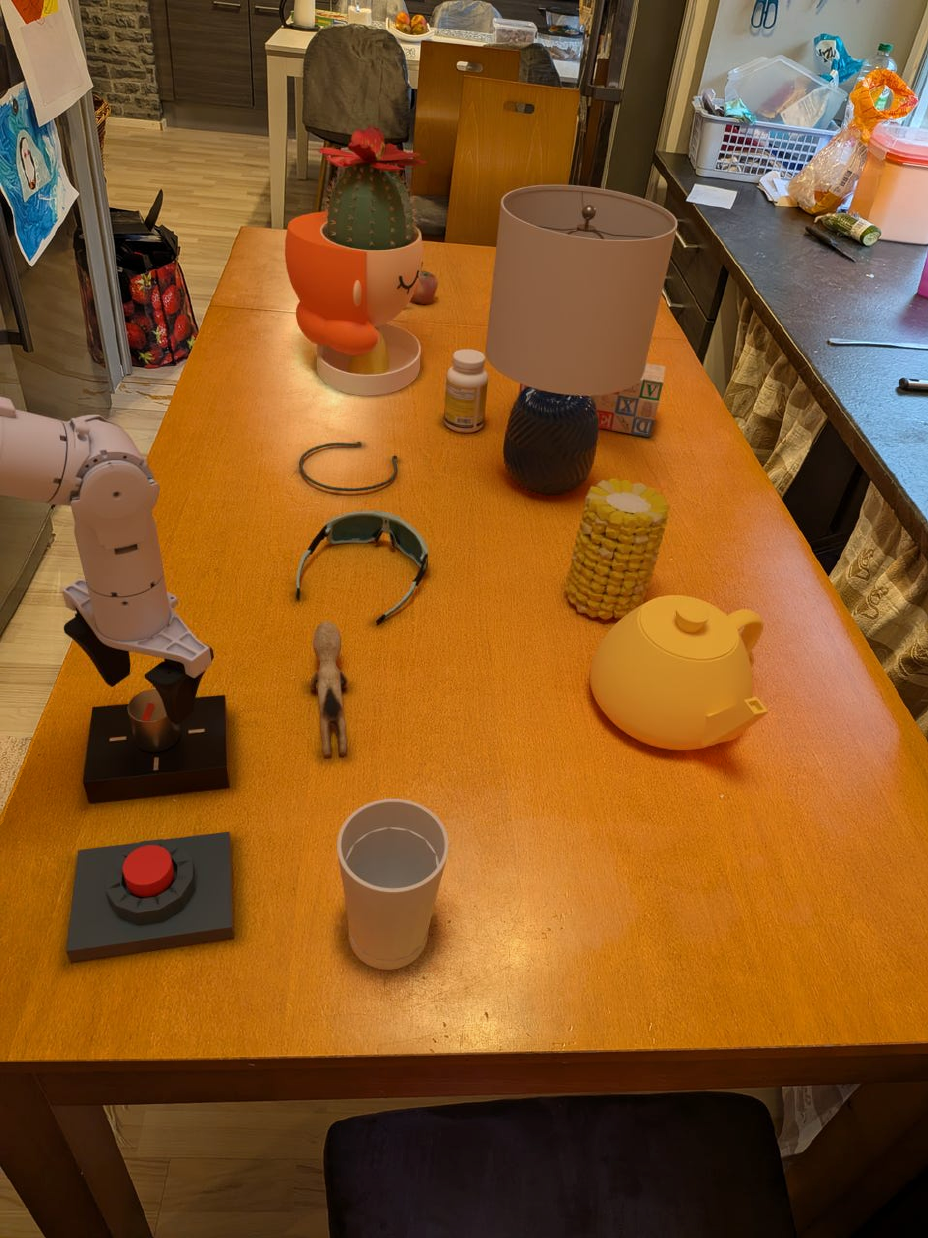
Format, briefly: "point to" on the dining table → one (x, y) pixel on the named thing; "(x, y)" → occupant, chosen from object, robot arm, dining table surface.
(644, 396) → the stack of blocks
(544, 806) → the dining table surface
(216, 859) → the switch block
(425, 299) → the apple
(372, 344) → the potted cactus
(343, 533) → the sunglasses
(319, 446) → the black headband
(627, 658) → the teapot
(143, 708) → the dimmer knob
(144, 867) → the switch button
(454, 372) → the pill bottle
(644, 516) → the food
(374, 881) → the cup
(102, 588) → the robot arm
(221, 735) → the dimmer panel
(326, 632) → the figurine
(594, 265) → the lamp
